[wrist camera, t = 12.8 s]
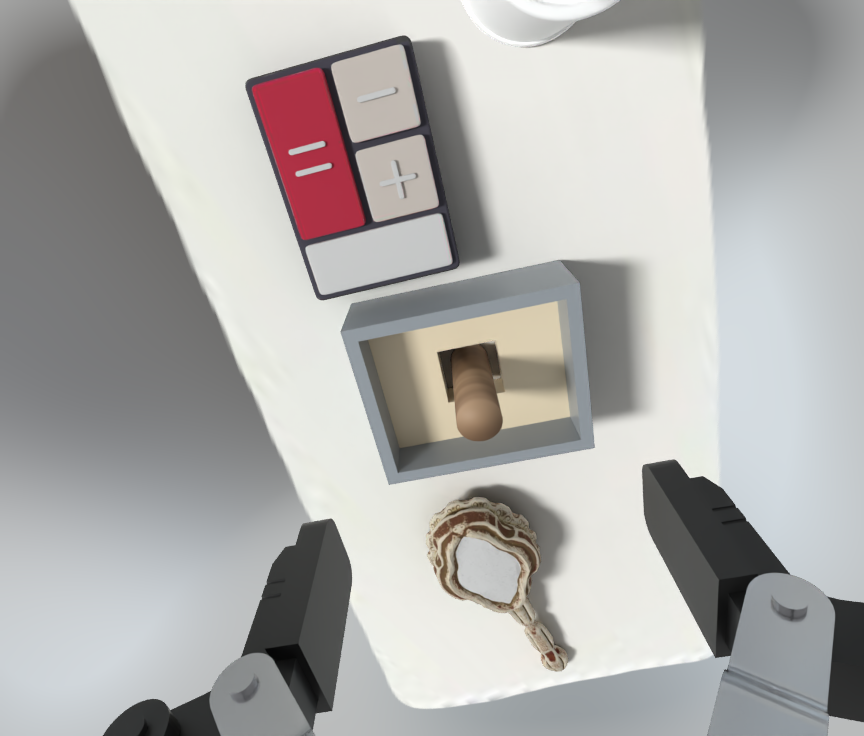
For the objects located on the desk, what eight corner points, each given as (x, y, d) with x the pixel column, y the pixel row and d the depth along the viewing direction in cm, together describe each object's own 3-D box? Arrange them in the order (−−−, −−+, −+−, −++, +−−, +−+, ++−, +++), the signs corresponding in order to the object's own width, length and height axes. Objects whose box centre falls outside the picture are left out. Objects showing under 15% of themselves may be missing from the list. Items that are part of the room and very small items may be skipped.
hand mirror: (516, 696, 62) (395, 549, 47) (516, 645, 67) (407, 497, 52) (606, 690, 58) (505, 528, 44) (600, 637, 63) (507, 475, 48)
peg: (447, 346, 44) (452, 406, 35) (484, 339, 44) (499, 397, 35) (454, 379, 46) (461, 445, 37) (490, 372, 45) (506, 436, 36)
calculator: (408, 30, 31) (461, 270, 37) (411, 42, 35) (458, 258, 41) (238, 78, 32) (315, 305, 38) (259, 85, 36) (326, 290, 42)
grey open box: (351, 303, 42) (340, 331, 37) (559, 260, 41) (579, 282, 36) (392, 443, 49) (388, 484, 43) (575, 409, 47) (594, 447, 42)
